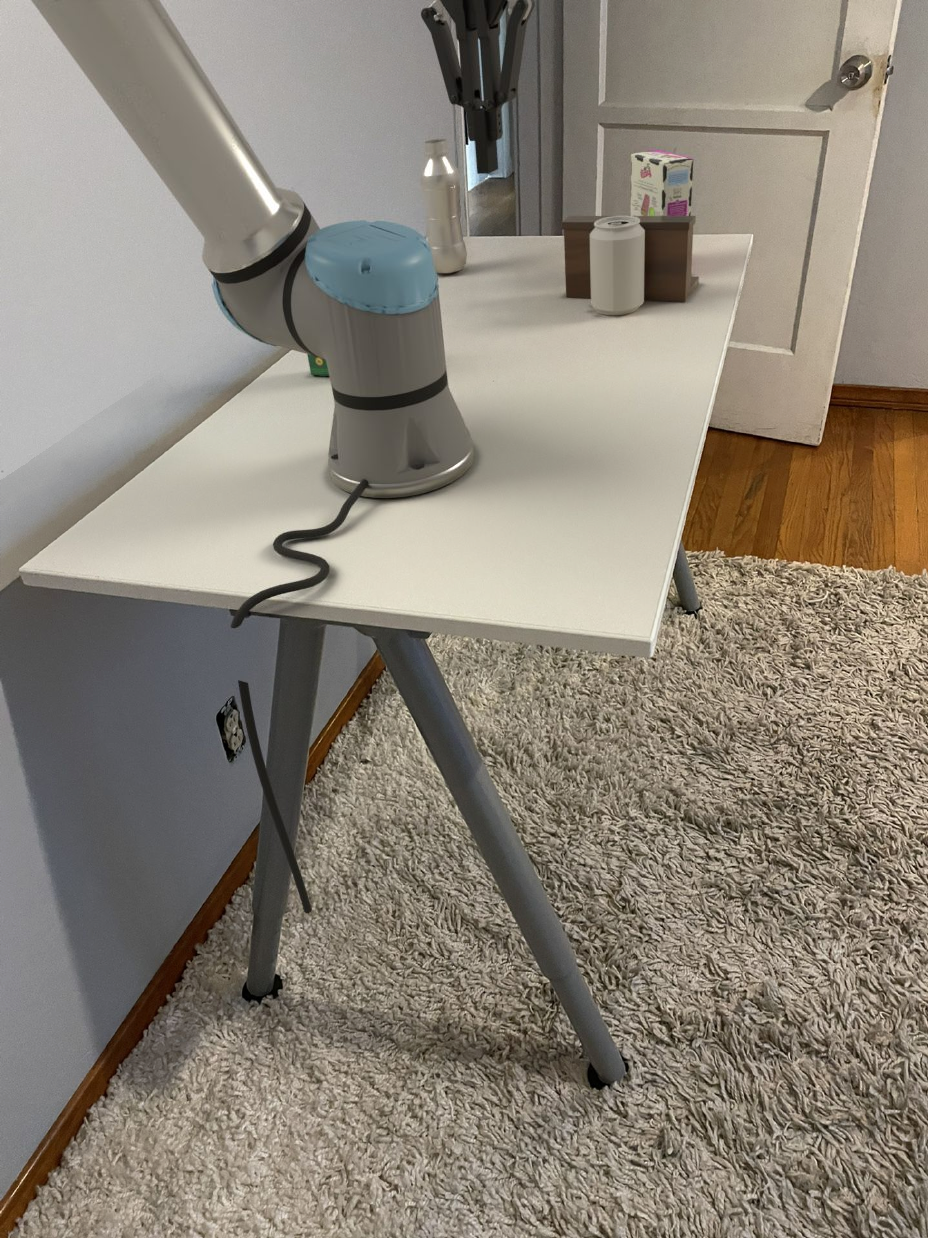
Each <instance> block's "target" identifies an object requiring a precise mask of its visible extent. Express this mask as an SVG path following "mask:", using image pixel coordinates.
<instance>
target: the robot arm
mask: <svg viewBox="0 0 928 1238" xmlns="http://www.w3.org/2000/svg"><path fill="white" fill-rule="evenodd" d="M30 1H31V2H32V4H33V5H34V6H35V8H36V9H37V11H38V12H39V13H40V15H41V16H42V17H43V19H44V20H45V21H46V23H47V24H48V25H49V28H51V30H52V31H53V33H54V34H55V35H56V36H57V38H58V39H59V41H60V42H61V44H62V45H63V46H64V47H65V49H66V50H67V52H68V53H69V55H70V56H71V57H72V59H73V60H74V61H75V63H76V64H77V65H78V67H79V68H80V69H81V71H82V72H83V74H84V75H85V76H86V78H87V79H88V81H89V82H90V83H91V85H92V86H93V87H94V89H95V90H96V91H97V93H98V94H99V95H100V97H101V98H102V100H103V101H104V102H105V104H106V105H107V107H108V108H109V109H110V110H111V112H112V113H113V115H114V116H115V118H116V119H117V120H118V122H119V123H120V124H121V126H122V127H123V128H124V130H125V132H126V133H127V134H128V135H129V137H130V138H131V140H132V141H133V142H134V143H135V145H136V147H137V148H138V149H139V151H140V152H141V154H142V155H143V156H144V157H145V159H146V161H148V163H149V164H150V166H151V167H152V168H153V170H154V171H155V172H156V174H157V175H158V177H159V178H160V179H161V181H162V182H163V183H164V184H165V186H166V188H167V189H168V190H169V192H170V193H171V195H172V196H173V197H174V199H175V200H176V201H177V203H178V204H179V205H180V207H181V208H182V209H183V211H184V212H185V213H186V215H187V217H188V218H189V219H190V220H191V222H192V223H193V225H194V227H196V229H197V230H198V231H199V233H200V235H201V236H202V237H203V239H204V240H203V246H202V252H201V258H202V262H203V264H204V266H205V267H206V269H207V270H208V271H209V272H210V274H211V275H212V278H213V279H212V280H213V282H212V284H211V288H212V293H213V296H214V299H215V301H216V304H217V306H218V308H219V309H220V311H221V313H222V315H223V316H224V317H225V318H226V319H227V321H228V322H229V323H230V324H231V325H232V326H233V327H234V328H236V329H237V330H238V331H240V332H241V333H243V334H244V335H247V336H248V337H249V338H252V339H253V340H256V341H258V342H259V343H262V344H266V345H269V346H271V347H272V346H273V347H280V348H284V349H287V350H292V351H293V352H294V351H295V352H298V353H303V354H306V355H307V354H309V355H313V356H316V357H319V358H323V359H326V362H327V367H328V372H329V376H328V377H329V381H330V386H331V391H332V395H333V403H334V407H333V414H332V415H333V416H332V424H331V430H330V437H329V446H328V453H327V454H328V455H327V456H328V457H327V458H328V459H327V462H328V463H327V464H328V467H329V468H328V469H329V472H330V477H331V480H332V482H333V483H334V484H335V485H336V486H337V487H338V488H340V489H341V490H343V491H345V492H347V493H349V494H350V495H349V496H348V497H347V499H346V500H345V501H344V503H343V504H342V506H341V508H340V510H339V512H338V514H337V515H336V517H335V518H334V520H332V521H331V522H330V523H329V524H327V525H325V526H321V527H317V528H310V529H296V530H295V529H294V530H289V531H285V532H282V533H280V534H279V535H277V537H275V539H274V541H273V543H272V548H273V550H274V551H275V553H277V554H278V555H280V556H282V557H285V558H290V559H293V560H298V561H302V562H307V563H310V564H312V565H315V566H316V567H319V571H318V572H317V573H316V574H314V575H312V576H310V577H307V578H304V579H300V580H296V581H290V582H286V583H282V584H278V585H275V586H271V587H268V588H265V589H263V590H261V591H259V592H256V593H255V594H253V595H252V596H250V597H249V598H248V599H246V600H245V601H244V602H243V603H242V604H241V605H240V607H239V608H238V609H237V611H236V612H235V614H234V616H233V618H232V621H231V624H230V628H231V629H236V628H239V627H241V626H242V624H243V622H244V620H245V619H246V617H247V615H248V614H249V612H250V611H251V610H252V609H254V607H256V606H257V605H259V604H261V603H263V602H264V601H266V600H269V599H271V598H274V597H277V596H281V595H285V594H288V593H294V592H298V591H303V590H306V589H310V588H312V587H315V586H317V585H320V584H321V583H322V582H323V581H324V580H326V579H327V578H328V575H329V574H330V565H329V563H328V561H327V560H326V559H325V558H323V557H321V556H318V555H316V554H313V553H309V552H304V551H300V550H295V549H292V548H288V547H285V546H283V544H284V543H285V542H287V541H290V540H297V539H298V540H299V539H311V538H312V539H313V538H319V537H323V536H326V535H329V534H331V533H333V532H335V531H336V530H338V529H339V528H340V527H341V526H342V525H343V523H344V522H345V520H346V519H347V516H348V514H349V513H350V511H351V509H352V508H353V505H354V504H356V502H357V500H358V499H359V498H360V497H366V498H374V499H375V498H376V499H393V498H395V499H396V498H403V497H405V498H406V497H410V496H411V497H413V496H416V495H421V494H425V493H428V492H433V491H436V490H438V489H440V488H443V487H445V486H447V485H449V484H451V483H453V482H455V481H456V480H458V479H459V478H461V477H462V476H463V475H464V474H465V473H467V472H468V471H469V469H470V468H471V466H472V465H473V462H474V458H475V453H474V444H473V438H472V436H471V433H470V430H469V429H468V427H467V425H466V423H465V421H464V418H463V416H462V414H461V411H460V409H459V407H458V405H457V403H456V401H455V399H454V396H453V394H452V392H451V390H450V386H449V381H448V379H449V378H448V371H447V362H446V352H445V351H446V350H445V341H444V331H443V322H442V321H443V319H442V312H441V311H442V310H441V301H440V291H439V288H440V286H439V276H438V273H436V271H435V269H434V263H433V258H432V252H431V249H430V246H429V243H428V241H427V239H426V238H425V237H424V236H423V235H422V234H421V233H420V232H419V231H417V230H416V229H414V228H412V227H410V226H407V225H404V224H400V223H398V222H397V223H396V222H393V221H386V220H374V221H367V220H350V221H343V222H338V223H334V224H330V225H328V226H324V227H322V228H320V226H319V225H318V223H317V220H315V218H314V216H313V215H312V213H311V211H310V210H309V208H308V207H307V205H306V203H305V202H304V200H303V198H302V197H301V195H299V193H297V192H295V191H294V190H291V189H286V188H282V187H281V188H280V187H277V186H276V184H275V183H274V182H273V180H272V178H271V176H270V175H269V173H268V172H267V170H266V169H265V167H264V165H263V164H262V162H261V161H260V159H259V157H258V156H257V154H256V153H255V151H254V149H253V147H252V146H251V144H250V143H249V142H248V139H247V138H246V137H245V135H244V133H243V132H242V130H241V129H240V127H239V125H238V123H237V122H236V120H235V119H234V118H233V116H232V114H231V112H230V110H228V107H227V106H226V104H225V103H224V102H223V99H222V98H221V96H220V95H219V93H218V92H217V90H216V89H215V87H214V85H213V83H212V82H211V81H210V79H209V78H208V76H207V74H206V73H205V70H204V69H203V68H202V66H201V65H200V63H199V62H198V60H197V58H196V57H195V54H194V53H193V52H192V50H191V48H190V47H189V45H188V43H187V42H186V40H185V39H184V37H183V36H182V34H181V32H180V31H179V29H178V28H177V26H176V24H175V23H174V21H173V20H172V18H171V16H170V15H169V13H168V12H167V10H166V8H165V7H164V5H163V4H162V2H161V1H160V0H30ZM507 6H508V7H507ZM506 8H507V13H508V14H507V15H509V18H508V21H507V27H506V31H505V32H506V33H505V41H504V47H503V56H502V61H501V51H500V35H501V18H502V17H503V15H504V12H505V10H506ZM534 8H535V0H434V1H433V2H432V3H431V5H430V6H428V7H424V8H422V9H421V11H420V17H421V19H422V21H423V22H424V24H425V26H426V27H427V29H428V31H429V33H430V35H431V39H432V42H433V47H434V50H435V54H436V57H437V61H438V64H439V68H440V71H441V75H442V78H443V82H444V87H445V90H446V93H447V96H448V100H449V103H450V104H451V105H453V106H454V105H457V106H458V107H461V108H462V109H464V111H465V113H466V115H465V117H466V126H467V138H468V140H469V142H474V149H475V162H476V173H477V175H483V174H484V175H485V174H486V175H487V174H488V175H489V174H491V173H493V172H495V171H497V170H499V160H498V158H499V157H498V143H497V141H498V140H500V139H501V140H502V137H503V134H504V133H503V132H504V131H503V114H502V113H503V112H502V110H503V109H502V108H503V106H504V105H505V104H506V103H508V102H511V101H512V100H515V98H517V94H518V87H519V81H520V73H521V67H522V60H523V59H522V58H523V52H524V45H525V38H526V33H527V32H526V31H527V25H528V22H529V19H530V17H531V15H532V13H533V11H534ZM449 17H450V19H451V20H452V21H453V23H454V24H455V36H456V41H458V49H459V57H458V53H457V49H456V45H455V41H454V38H453V34H452V30H451V28H450V24H449V23H448V18H449ZM479 49H480V50H479ZM501 62H502V64H501ZM481 78H482V79H481ZM237 684H238V689H239V696H240V703H241V708H242V714H243V719H244V722H245V723H244V724H245V729H246V733H247V737H248V741H249V745H250V749H251V754H252V758H253V761H254V764H255V769H256V772H257V775H258V779H259V782H260V786H261V788H262V791H263V795H264V798H265V801H266V804H267V808H268V809H269V812H270V815H271V818H272V821H273V824H274V827H275V830H276V832H277V835H278V838H279V840H280V844H281V846H282V849H283V852H284V854H285V857H286V860H287V863H288V866H289V869H290V871H291V874H292V877H293V881H294V883H295V886H296V889H297V893H298V895H299V899H300V902H301V906H302V909H303V912H304V913H305V914H311V912H312V911H313V909H312V906H311V902H310V899H309V895H308V892H307V888H306V885H305V882H304V879H303V876H302V872H301V869H300V866H299V864H298V861H297V858H296V855H295V852H294V849H293V847H292V844H291V841H290V838H289V835H288V832H287V829H286V827H285V824H284V821H283V818H282V815H281V811H280V809H279V806H278V803H277V800H276V797H275V794H274V790H273V788H272V785H271V780H270V777H269V774H268V771H267V767H266V764H265V760H264V756H263V752H262V748H261V744H260V739H259V735H258V731H257V726H256V721H255V720H256V719H255V716H254V715H255V714H254V711H253V704H252V700H251V692H250V686H249V682H247V681H243V680H237Z"/></svg>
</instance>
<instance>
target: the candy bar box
mask: <svg viewBox="0 0 928 1238" xmlns="http://www.w3.org/2000/svg"><path fill="white" fill-rule="evenodd" d="M693 175H694V158H693V157H688V156H685V155H681V154H677V153H673V152H669V151H665V150H660V149H653V150H645V151H640V152H635V153H631V154H630V215H629V216H692V215H691V214H692V200H693V199H692V198H693V197H692V196H693V180H694V179H693V178H694V177H693Z"/></svg>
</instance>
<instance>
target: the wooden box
mask: <svg viewBox="0 0 928 1238" xmlns="http://www.w3.org/2000/svg"><path fill="white" fill-rule="evenodd" d="M612 216H613V215H569V216H568V217H566V218H565V219H564V220H562V221H561V230H563V249H564V250H563V251H564V273H565V277H564V278H565V297H566V298H567V299H568V298H569V299H591V276H590V233H591V232H592V231H593V229H594V228H595V226H594V223H595V222H596V221H597V220H599V219H602V218H606V217H612ZM634 217H637V218H639V219H640V223H639V224H640V226H641V227H642V228H643V229H644V230H645V254H644V301H649V302H650V301H651V302H653V301H654V302H680V303H681V302H682V303H685V302H686V301H687V300H688V299H689V298H690V296H691V295H692V294H693V292H695V290H696V289H697V287H698V286H699V284H700V277H699V276H692V266H693V265H692V264H693V245H694V242H693V241H694V240H693V239H694V225H695V224H696V215H690V216H634Z"/></svg>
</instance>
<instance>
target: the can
mask: <svg viewBox="0 0 928 1238" xmlns="http://www.w3.org/2000/svg"><path fill="white" fill-rule="evenodd" d="M611 216H612V217H606V218H602V219H599V220H597V221H596V222H595V223H594V226H595V228H594V229H593V231H592V232H591V233H590V276H591V298H590V306H591V307H592V308H593V309H594V310H596V312H597V313H598V314H600V315H605V316H622V315H623V316H625V315H628V314H632V313H634V312H636V311H637V310H638V309H639V308H640V307H641V306H642V305H643V304H644V302H645V300H644V254H645V230H644V229H643V228H642V227H641V226H640V224H639V223H640V219H639V218H637V217H634V216H630V215H611Z"/></svg>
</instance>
